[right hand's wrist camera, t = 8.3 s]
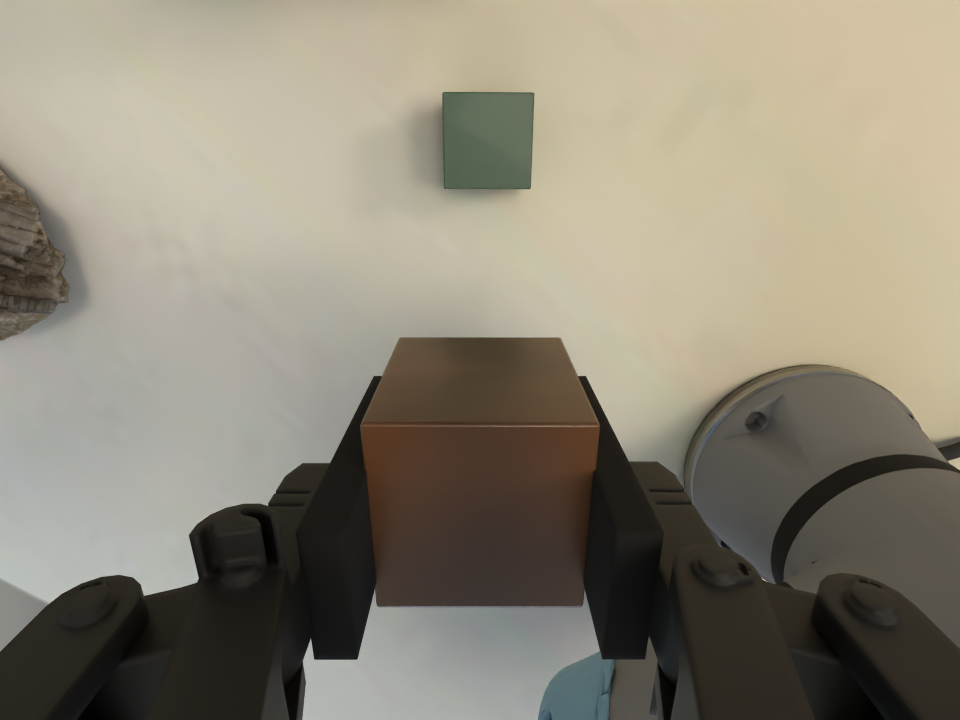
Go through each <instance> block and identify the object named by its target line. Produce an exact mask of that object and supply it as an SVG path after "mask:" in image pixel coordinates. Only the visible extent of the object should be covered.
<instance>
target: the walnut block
mask: <svg viewBox="0 0 960 720" xmlns="http://www.w3.org/2000/svg"><path fill="white" fill-rule="evenodd" d="M360 428H361V439H362V450H363V461H364V469H365V470H366V474H367V485H368V496H369V507H370V518H371V529H372V540H373V551H374V562H375V573H376V586H375V594H376V603H377V606H378V607H582V606H583V601H584V591H585V587H584V583H583V580H584V569H585V558H586V547H587V536H588V525H589V514H590V503H591V492H592V481H593V471H594V470H596V463H597V452H598V441H599V431H600V425H599V422H598V420H597V418H596V415H595V413H594V411H593V409H592V407H591V404H590V402H589V400H588V398H587V395H586V393H585V391H584V389H583V387H582V384H581V382H580V380H579V378H578V376H577V373H576V371H575V369H574V367H573V364H572V362H571V360H570V358H569V356H568V353H567V351H566V349H565V347H564V345H563V342H562V340H561V338H399V340H398V342H397V345H396V347H395V349H394V351H393V353H392V356H391V358H390V360H389V362H388V365H387V367H386V369H385V371H384V373H383V376H382V378H381V380H380V382H379V385H378V387H377V389H376V391H375V393H374V396H373V398H372V400H371V402H370V405H369V407H368V409H367V411H366V413H365V416H364V418H363V420H362V422H361V425H360Z"/></svg>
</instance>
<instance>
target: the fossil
mask: <svg viewBox="0 0 960 720" xmlns="http://www.w3.org/2000/svg"><path fill="white" fill-rule="evenodd" d="M39 212H40V211H39V210H38V208H37V205H36V204H35V203H34V202H33V201H32V200H31V199H30V198H29V197H28V196H27V195H26V194H25V190H24V189H23V188H21V187H20V186H18V185H17V184H15V183H14V182H12V181H11V180H9V179H8V177H7V176H6V175H5V174H4V173H3V172H2V171H1V169H0V341H1V340H4V339H6V338H8V337H10V336H12V335H16V334H19V333H22V332H24V331H25V330H27V329H28V328H29V327H30V326H31V325H33V324H35V323H37V322H39V321H41V320H43V319H45V318H47V317H48V316H49V315H50V314H52V313H53V312H54V310H55V307H56V305H57V304H58V303H65V302H68V291H69V285H68V283H67V281H66V280H65V278H64V277H63V275H62V273H61V270H62V269H63V267H64V263H65V260H66V259H65V256H64V253H63V252H61V251H59V250H57V249H55V248H54V247H53V246H52V244H51V242H50V240H49V239H48V238H47V237H46V234H45V231H44V228H43V225H42V223H41V221H40V218H39Z"/></svg>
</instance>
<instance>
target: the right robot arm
mask: <svg viewBox="0 0 960 720" xmlns="http://www.w3.org/2000/svg"><path fill="white" fill-rule="evenodd" d="M381 378H382V376H374V377H373V379H372V381H371V383H370V385H369V387H368V389H367V391H366V393H365V395H364V397H363V399H362V401H361V403H360V405H359V407H358V409H357V411H356V413H355V415H354V417H353V419H352V421H351V423H350V425H349V427H348V429H347V431H346V433H345V435H344V437H343V439H342V441H341V443H340V445H339V447H338V449H337V451H336V453H335V455H334V457H333V459H332V461H331V463H302V464H301V465H300V466H298V467H297V468H296V469H294V470H293V471H292V472H290V473H289V474H288V475H286V476H285V478H284V479H283V481H282V482H281V484H280V486H279V487H278V489H277V490H276V494H274V495H273V497H272V498H271V500H270V501H269V503H268V506H266V505H262V504H241V505H236V506H232V507H228V508H225V509H223V510H220V511H218V512H216V513H213V514H211V515H209V516H208V517H207V518H205V519H204V520H202V521H201V522H200V523H198V524H197V525H196V526H195V528H194V529H193V530H192V532H191V533H190V534H189V538H190V542H191V546H192V551H193V555H194V559H195V563H196V568H197V572H198V576H199V579H198V582H197V583H195V584H191V585H188V586H185V587H181V588H177V589H173V590H168V591H164V592H160V593H155V594H151V595H147V596H144V595H143V591H142V588H141V585H140V584H139V583H138V582H137V581H136V580H135V579H134V578H132V577H127V576H122V575H115V576H106V577H100V578H97V579H94V580H91V581H88V582H85V583H82V584H80V585H78V586H76V587H74V588H72V589H70V590H69V591H67V592H65V593H63V594H61V595H60V596H59V597H58V598H56V599H55V600H54V601H52V602H51V603H50V604H49V605H47V606H46V607H45V608H44V609H43V610H42V611H41V612H40V613H39V614H38V615H37V616H36V617H35V618H34V619H33V620H32V621H31V622H30V623H29V624H28V625H27V626H26V627H25V628H24V629H23V630H22V631H21V632H20V633H19V634H18V635H17V636H16V637H15V638H14V639H13V640H12V641H11V642H10V643H9V644H8V645H7V646H6V647H5V648H4V649H3V650H2V651H1V652H0V720H302V716H303V705H304V695H305V685H306V681H305V674H304V667H303V658H304V656H305V653H306V650H307V647H308V644H309V642H310V639H311V640H312V647H313V654H314V660H357V659H358V655H359V651H360V647H361V643H362V638H363V634H364V630H365V626H366V622H367V618H368V614H369V610H370V606H371V602H372V598H373V594H374V590H375V586H376V573H375V562H374V551H373V540H372V529H371V518H370V507H369V496H368V485H367V474H366V470H365V469H364V461H363V450H362V439H361V428H360V425H361V422H362V420H363V418H364V416H365V413H366V411H367V409H368V407H369V405H370V402H371V400H372V398H373V396H374V393H375V391H376V389H377V387H378V385H379V382H380V380H381ZM578 378H579V380H580V382H581V384H582V387H583V389H584V391H585V393H586V395H587V398H588V400H589V402H590V404H591V407H592V409H593V411H594V413H595V415H596V418H597V420H598V422H599V425H600V431H599V441H598V452H597V463H596V470H594V471H593V481H592V492H591V503H590V514H589V525H588V536H587V547H586V558H585V569H584V580H583V583H584V587H585V591H586V596H587V600H588V604H589V608H590V612H591V616H592V620H593V624H594V628H595V632H596V636H597V640H598V644H599V648H600V652H598V653H596V654H594V655H591V656H589V657H587V658H585V659H583V660H580V661H578V662H576V663H574V664H571V665H569V666H567V667H565V668H563V669H562V670H560V671H559V672H558V673H557V674H556V675H555V676H554V677H553V679H552V680H551V681H550V683H549V685H548V686H547V688H546V691H545V693H544V696H543V699H542V703H541V706H540V710H539V716H538V720H960V470H958V469H957V468H955V467H954V466H952V465H951V464H949V462H948V461H949V460H952V459H956V458H959V457H960V442H958V443H955V444H952V445H949V446H946V447H942V448H938V449H937V448H936V446H935V445H934V444H933V443H932V441H931V440H930V439H929V438H928V437H927V435H926V434H925V433H924V432H923V431H922V429H921V427H920V425H919V423H918V422H917V421H916V419H915V418H914V416H913V414H912V413H911V412H910V410H909V409H908V408H907V407H906V406H905V405H904V404H903V403H902V402H901V401H900V400H899V399H898V398H897V397H896V396H894V395H893V394H892V393H891V392H890V391H888V390H887V389H885V388H884V387H882V386H880V385H879V384H877V383H875V382H873V381H871V380H869V379H868V378H866V377H864V376H862V375H860V374H858V373H855V372H852V371H850V370H847V369H843V368H839V367H833V366H824V365H806V366H797V367H791V368H786V369H782V370H778V371H775V372H772V373H769V374H766V375H764V376H761V377H759V378H757V379H755V380H753V381H751V382H749V383H747V384H746V385H744V386H742V387H741V388H739V389H737V390H736V391H735V392H733V393H732V394H730V395H729V396H728V397H727V398H726V399H724V400H723V401H722V402H721V403H720V404H719V405H718V406H717V407H716V408H715V409H714V410H713V411H712V412H711V413H710V414H709V416H708V417H707V418H706V419H705V421H704V422H703V423H702V425H701V426H700V428H699V430H698V431H697V433H696V435H695V437H694V439H693V441H692V443H691V445H690V448H689V451H688V454H687V459H686V463H685V472H684V483H685V490H686V492H684V489H683V487H682V486H681V484H680V482H679V481H678V479H677V478H676V476H675V474H673V473H672V472H670V471H669V470H668V469H666V468H665V467H664V466H662V465H661V464H660V463H658V462H629V461H628V459H627V457H626V455H625V453H624V451H623V449H622V447H621V445H620V443H619V441H618V439H617V437H616V435H615V433H614V431H613V429H612V427H611V425H610V423H609V421H608V419H607V418H606V416H605V414H604V412H603V410H602V408H601V406H600V404H599V402H598V400H597V398H596V396H595V394H594V392H593V390H592V388H591V386H590V384H589V382H588V380H587V378H586V376H578ZM760 576H761V577H762V578H763V579H765V580H766V581H768V582H766V581H763V580H762V579H761V577H760Z"/></svg>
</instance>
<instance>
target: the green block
mask: <svg viewBox="0 0 960 720" xmlns="http://www.w3.org/2000/svg"><path fill="white" fill-rule="evenodd" d="M442 97H443V155H444V188H445V189H530V188H531V166H532V139H533V111H534V93H512V92H443V93H442Z"/></svg>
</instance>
